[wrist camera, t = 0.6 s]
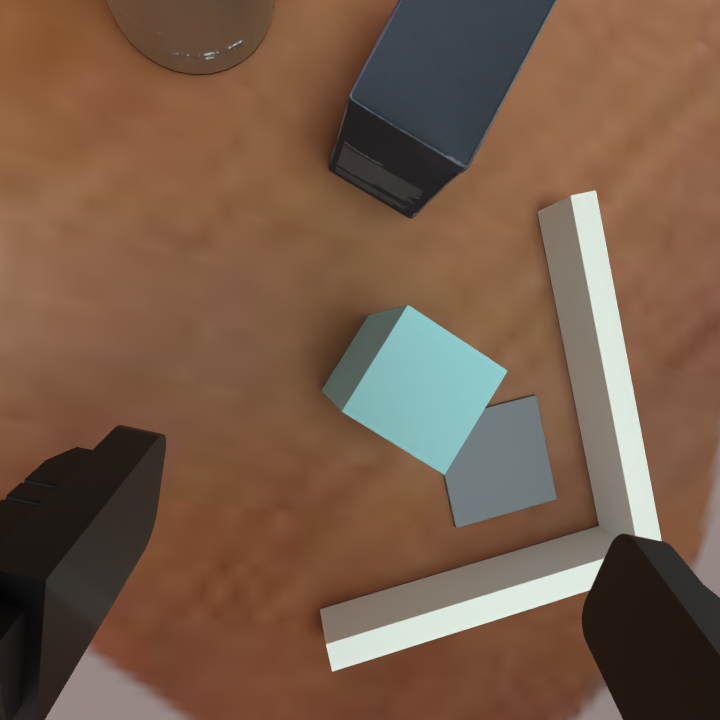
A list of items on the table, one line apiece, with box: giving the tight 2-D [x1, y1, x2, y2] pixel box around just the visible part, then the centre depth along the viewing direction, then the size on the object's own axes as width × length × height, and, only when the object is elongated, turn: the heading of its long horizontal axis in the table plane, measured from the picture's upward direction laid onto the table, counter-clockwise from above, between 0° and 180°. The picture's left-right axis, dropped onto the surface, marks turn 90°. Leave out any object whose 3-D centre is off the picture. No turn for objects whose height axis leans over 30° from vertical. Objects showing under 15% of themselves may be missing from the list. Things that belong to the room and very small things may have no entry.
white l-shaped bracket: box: [320, 191, 661, 672], centre depth 33 cm, size 23×21×4 cm
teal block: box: [321, 305, 507, 475], centre depth 30 cm, size 6×6×10 cm
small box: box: [329, 0, 557, 218], centre depth 29 cm, size 11×6×10 cm, turn 152°
